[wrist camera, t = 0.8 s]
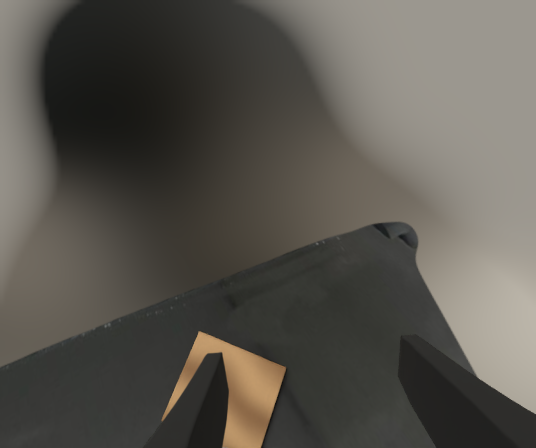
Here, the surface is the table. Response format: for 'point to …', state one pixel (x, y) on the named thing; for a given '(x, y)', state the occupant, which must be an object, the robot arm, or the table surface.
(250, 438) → the cork mat
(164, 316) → the table surface
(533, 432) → the robot arm
